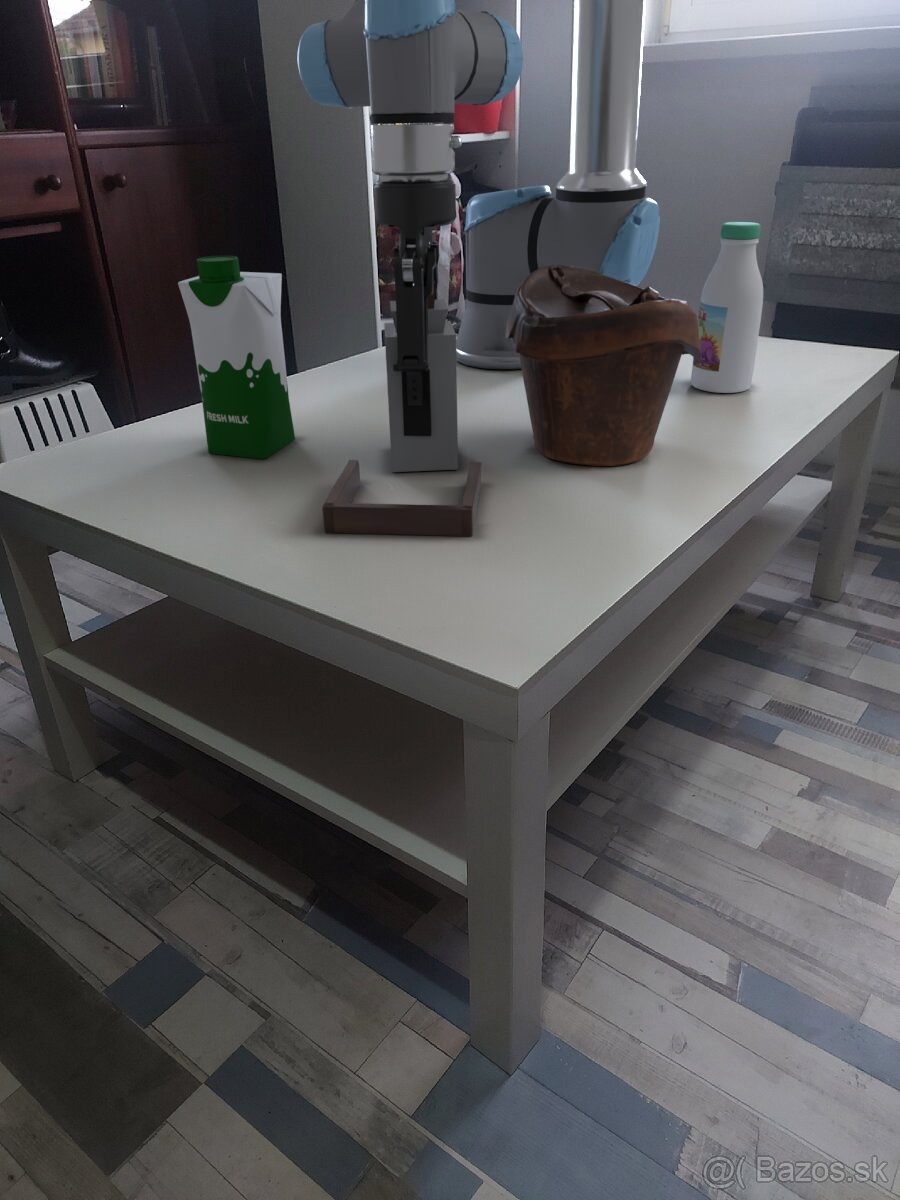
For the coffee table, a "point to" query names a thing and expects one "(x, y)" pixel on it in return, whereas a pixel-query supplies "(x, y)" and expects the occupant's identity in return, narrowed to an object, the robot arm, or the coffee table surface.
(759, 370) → the coffee table surface
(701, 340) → the milk bottle
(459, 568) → the coffee table surface
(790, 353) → the coffee table surface
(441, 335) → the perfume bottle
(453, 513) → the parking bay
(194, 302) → the milk carton
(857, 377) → the coffee table surface
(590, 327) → the case
